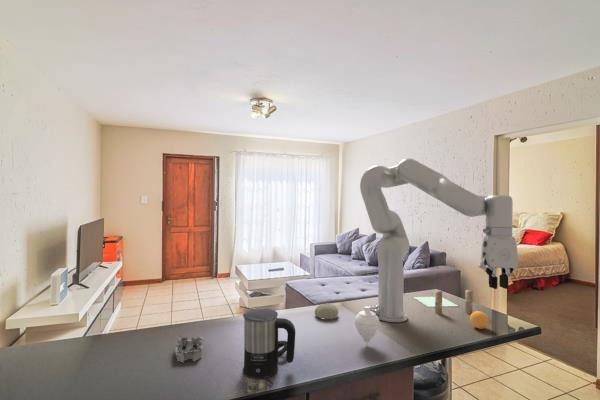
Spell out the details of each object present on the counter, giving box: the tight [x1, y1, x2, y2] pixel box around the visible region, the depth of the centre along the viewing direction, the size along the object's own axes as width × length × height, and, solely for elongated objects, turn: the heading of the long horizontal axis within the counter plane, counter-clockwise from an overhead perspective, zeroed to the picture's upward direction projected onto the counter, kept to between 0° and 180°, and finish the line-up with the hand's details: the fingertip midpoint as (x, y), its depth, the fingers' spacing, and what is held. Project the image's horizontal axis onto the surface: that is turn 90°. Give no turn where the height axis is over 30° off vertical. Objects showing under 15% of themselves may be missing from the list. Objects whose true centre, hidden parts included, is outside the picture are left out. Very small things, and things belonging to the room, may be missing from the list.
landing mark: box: [413, 296, 459, 308], centre depth 146 cm, size 14×14×1 cm
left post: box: [434, 289, 443, 315], centre depth 131 cm, size 3×3×9 cm
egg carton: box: [175, 335, 205, 363], centre depth 93 cm, size 11×8×4 cm
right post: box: [464, 289, 474, 315], centre depth 132 cm, size 3×3×9 cm
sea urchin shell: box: [314, 303, 339, 320], centre depth 125 cm, size 9×8×8 cm
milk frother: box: [242, 308, 296, 380], centre depth 88 cm, size 14×16×15 cm
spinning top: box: [354, 305, 381, 346], centre depth 100 cm, size 8×8×12 cm
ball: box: [469, 310, 490, 330], centre depth 115 cm, size 6×6×6 cm
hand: (498, 287), depth 106 cm, fingers open, 3 cm apart
